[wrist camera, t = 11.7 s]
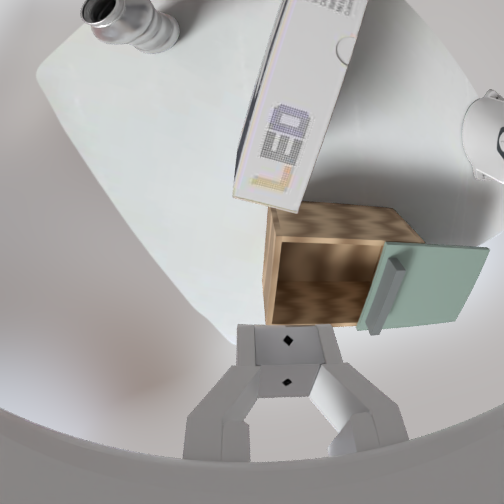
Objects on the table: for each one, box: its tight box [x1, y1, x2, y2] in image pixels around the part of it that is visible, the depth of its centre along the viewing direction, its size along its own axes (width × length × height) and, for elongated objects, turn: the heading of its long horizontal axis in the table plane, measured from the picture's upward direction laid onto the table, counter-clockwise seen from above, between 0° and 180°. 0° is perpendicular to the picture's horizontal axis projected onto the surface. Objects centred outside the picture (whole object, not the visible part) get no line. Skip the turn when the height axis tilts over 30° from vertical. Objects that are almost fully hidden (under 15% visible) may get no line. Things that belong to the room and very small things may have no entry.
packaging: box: [233, 0, 368, 214], centre depth 26 cm, size 30×6×20 cm, turn 165°
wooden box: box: [262, 201, 425, 327], centre depth 46 cm, size 22×16×12 cm
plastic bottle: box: [81, 0, 180, 54], centre depth 23 cm, size 6×7×20 cm
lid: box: [356, 242, 490, 335], centre depth 39 cm, size 22×16×4 cm
